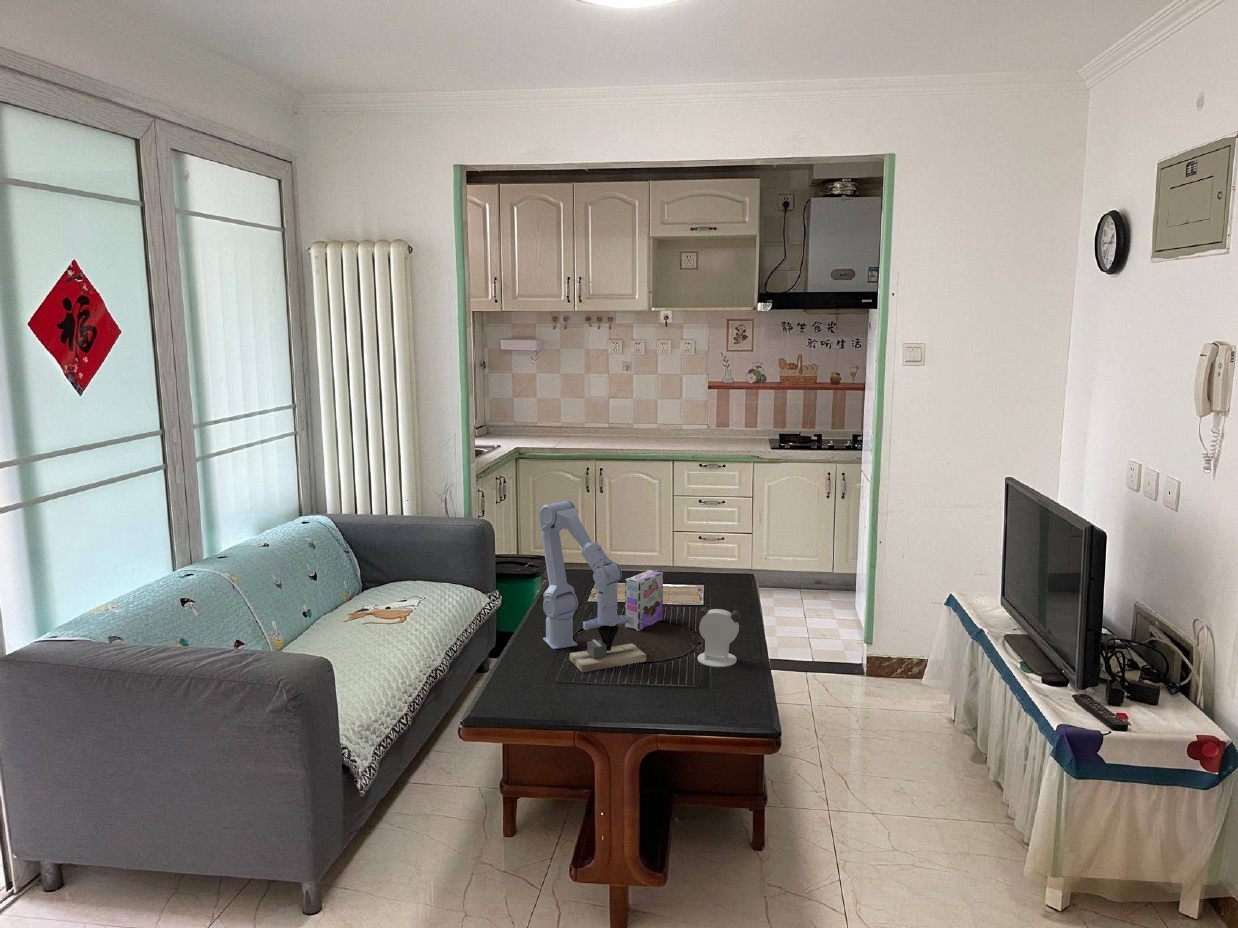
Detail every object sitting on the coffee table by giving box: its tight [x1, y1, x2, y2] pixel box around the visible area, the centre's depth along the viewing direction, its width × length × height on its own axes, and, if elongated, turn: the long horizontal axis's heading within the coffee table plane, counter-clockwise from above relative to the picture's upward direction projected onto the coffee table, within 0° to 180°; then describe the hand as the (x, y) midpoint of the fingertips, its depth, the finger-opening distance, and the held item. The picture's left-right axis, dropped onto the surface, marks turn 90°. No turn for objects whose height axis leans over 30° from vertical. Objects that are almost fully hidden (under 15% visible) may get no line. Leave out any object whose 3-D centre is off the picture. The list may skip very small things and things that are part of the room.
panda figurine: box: [697, 606, 742, 668], centre depth 256 cm, size 12×11×15 cm
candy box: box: [624, 569, 664, 632], centre depth 286 cm, size 14×6×16 cm, turn 143°
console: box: [569, 643, 647, 673], centre depth 256 cm, size 10×20×2 cm, turn 114°
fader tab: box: [586, 639, 607, 658], centre depth 254 cm, size 5×4×4 cm
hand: (607, 649), depth 256 cm, fingers closed
